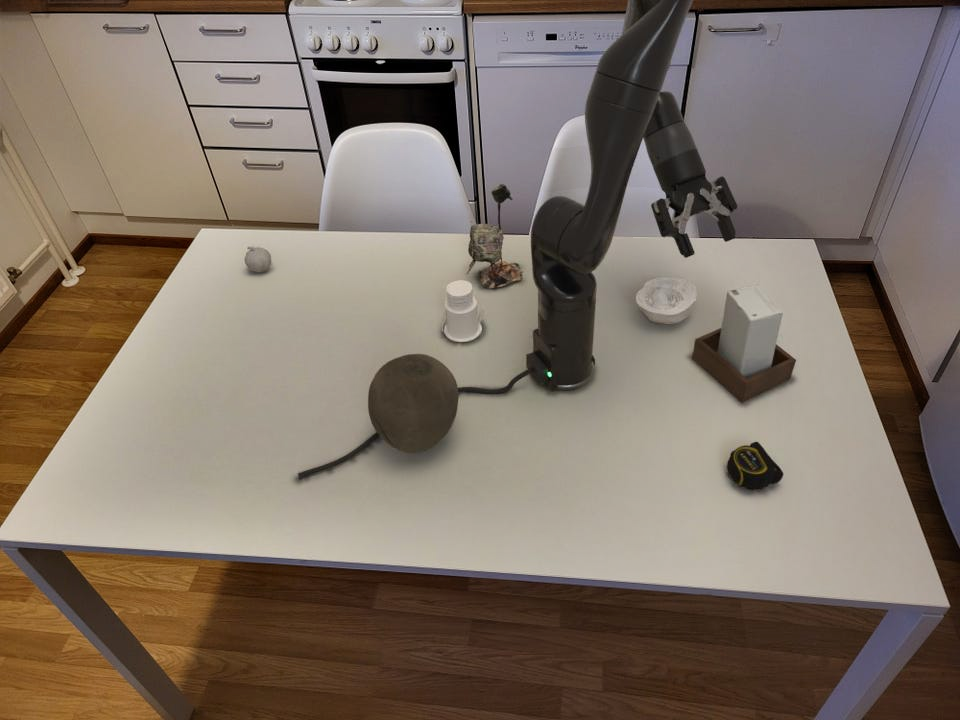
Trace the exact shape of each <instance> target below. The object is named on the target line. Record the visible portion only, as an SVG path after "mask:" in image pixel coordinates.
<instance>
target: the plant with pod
mask: <svg viewBox="0 0 960 720" xmlns="http://www.w3.org/2000/svg"><path fill="white" fill-rule="evenodd" d="M490 193H491V196H492V198H493V200H494V202H495V203H497V224H498V225H497V224H491V223H476V224H473V225H471V226H470V230H469V243H468V247H467V252H468V255H469V256H470V257H471V259H472V261H471V262H470V264H469V265H468V268H467V270H466V273H465V275H469V273H470V272H471V270H472V269H473V267H474V265H475V264H476V262H478V263H479V262H480V263H489V264H490V265H488V266H487V267H484V268H483V267H482V269H480V270H478V277H479V280H480V283H481V284H482V287H484V288H486V289H494V288H500V287H505V286H506V285H508V284H509V283H513V282H514V281H522V279H523V278H524V277H523V276H524V275H523V272H524V271H522V270H521V267H520V264H519V263H518V262H512V263H508V262H507V261H506V260H505V261H503V255H502V254H503V253H502V250H503V245H504V244H503V242H504V239H505V237H504V231H503V229H502V226H501V206H502V205H501V204H503V203H504V202H505V201H506V200H510V201H513V198H512V196H511V191H510V189H509V188H508V187H507V185H506V184H505V183H502V182H501V183H500V184H498V185H496V186H495V187H494V188H493V189H492V190H491V192H490ZM471 223H473V221H470V224H471Z"/></svg>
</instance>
